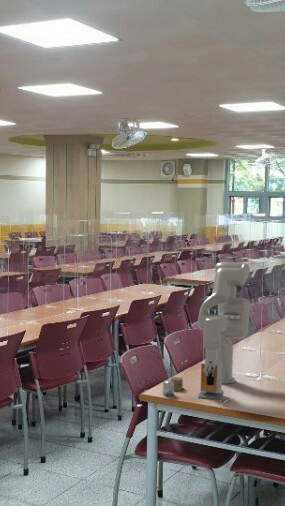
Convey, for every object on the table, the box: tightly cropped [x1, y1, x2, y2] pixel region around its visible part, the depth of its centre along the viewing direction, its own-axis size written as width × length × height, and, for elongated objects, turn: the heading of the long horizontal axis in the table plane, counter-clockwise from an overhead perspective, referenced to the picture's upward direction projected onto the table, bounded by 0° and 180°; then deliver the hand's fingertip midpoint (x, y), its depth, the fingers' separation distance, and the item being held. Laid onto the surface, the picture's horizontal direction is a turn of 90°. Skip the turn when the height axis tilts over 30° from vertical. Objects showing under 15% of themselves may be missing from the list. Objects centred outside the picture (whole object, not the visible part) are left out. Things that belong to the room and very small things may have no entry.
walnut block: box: [170, 376, 183, 391], centre depth 308 cm, size 5×5×5 cm
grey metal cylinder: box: [162, 379, 175, 397], centre depth 298 cm, size 5×5×6 cm
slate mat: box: [197, 389, 224, 401], centre depth 299 cm, size 14×10×1 cm
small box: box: [200, 361, 223, 393], centre depth 298 cm, size 8×6×13 cm
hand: (211, 382), depth 299 cm, fingers closed on small box, 7 cm apart
